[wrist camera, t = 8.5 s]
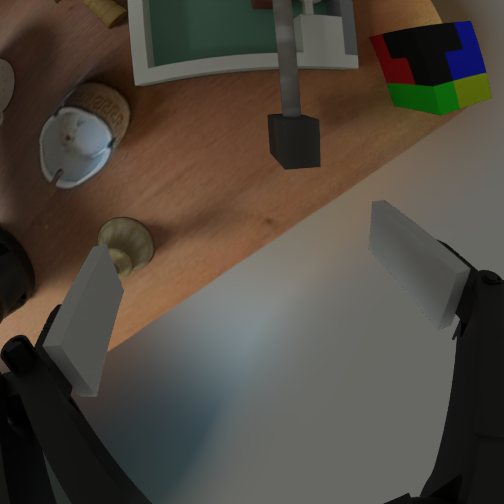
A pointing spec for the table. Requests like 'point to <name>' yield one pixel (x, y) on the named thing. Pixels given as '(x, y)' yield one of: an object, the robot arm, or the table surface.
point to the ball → (313, 1)
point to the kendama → (106, 11)
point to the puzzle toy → (433, 67)
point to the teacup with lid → (5, 86)
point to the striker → (290, 98)
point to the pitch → (234, 38)
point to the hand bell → (127, 244)
